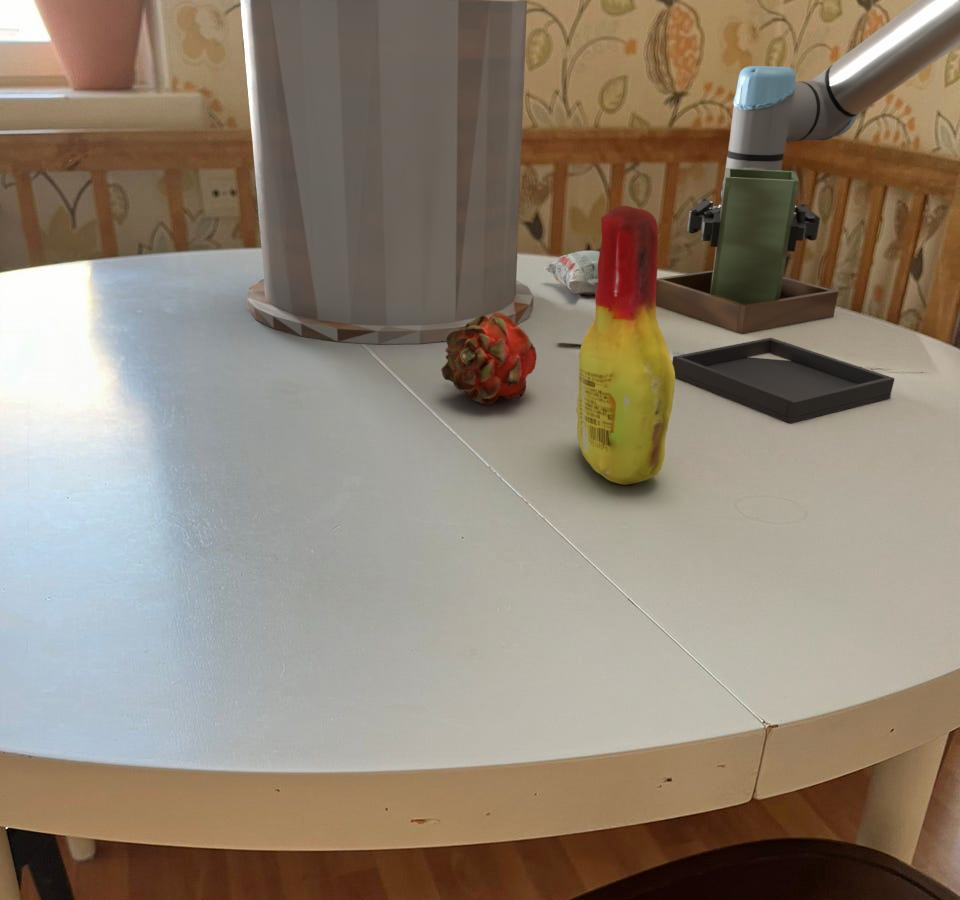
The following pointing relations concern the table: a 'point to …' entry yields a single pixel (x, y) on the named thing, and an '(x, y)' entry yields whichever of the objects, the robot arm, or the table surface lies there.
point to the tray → (782, 379)
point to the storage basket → (386, 165)
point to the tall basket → (753, 234)
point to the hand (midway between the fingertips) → (754, 236)
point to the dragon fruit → (489, 359)
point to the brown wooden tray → (697, 302)
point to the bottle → (625, 356)
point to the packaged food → (577, 271)
